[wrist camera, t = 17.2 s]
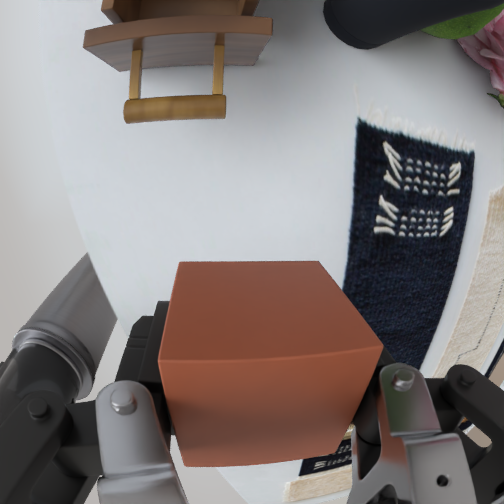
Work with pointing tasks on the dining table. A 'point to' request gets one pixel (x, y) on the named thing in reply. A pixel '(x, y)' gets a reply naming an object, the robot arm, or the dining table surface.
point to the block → (262, 362)
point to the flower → (489, 52)
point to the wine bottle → (393, 17)
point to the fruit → (463, 24)
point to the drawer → (178, 48)
